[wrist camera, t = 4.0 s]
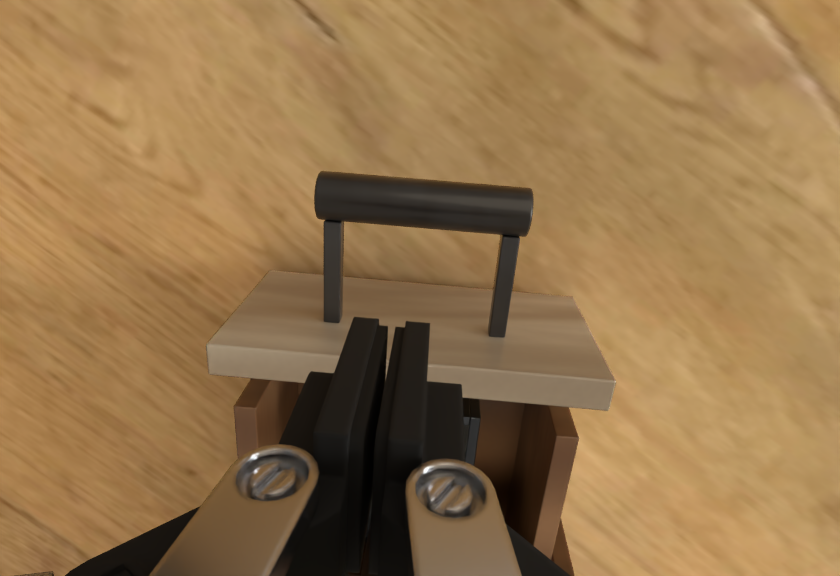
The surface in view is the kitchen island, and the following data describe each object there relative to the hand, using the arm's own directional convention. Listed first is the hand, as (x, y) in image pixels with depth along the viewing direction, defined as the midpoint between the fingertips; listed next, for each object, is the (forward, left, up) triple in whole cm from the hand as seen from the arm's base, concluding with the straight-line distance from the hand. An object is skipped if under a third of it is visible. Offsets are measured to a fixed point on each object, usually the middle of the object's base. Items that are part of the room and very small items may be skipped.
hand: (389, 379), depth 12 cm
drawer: (-2, +8, -12) cm, 14 cm away
